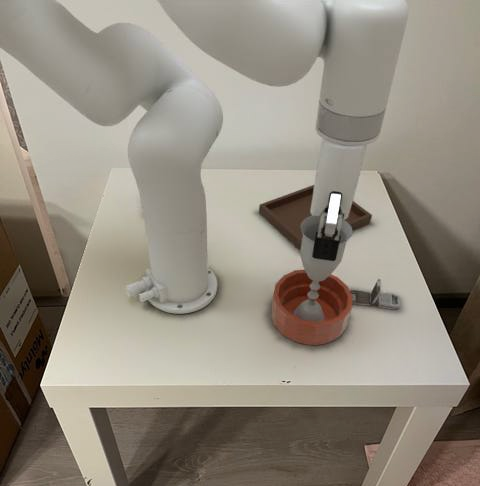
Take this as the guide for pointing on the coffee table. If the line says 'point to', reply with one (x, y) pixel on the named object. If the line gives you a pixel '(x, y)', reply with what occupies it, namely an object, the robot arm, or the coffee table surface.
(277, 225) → the tray
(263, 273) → the coffee table surface
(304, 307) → the chalice
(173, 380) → the coffee table surface
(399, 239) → the coffee table surface
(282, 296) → the bowl
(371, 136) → the robot arm
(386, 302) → the strap clip
